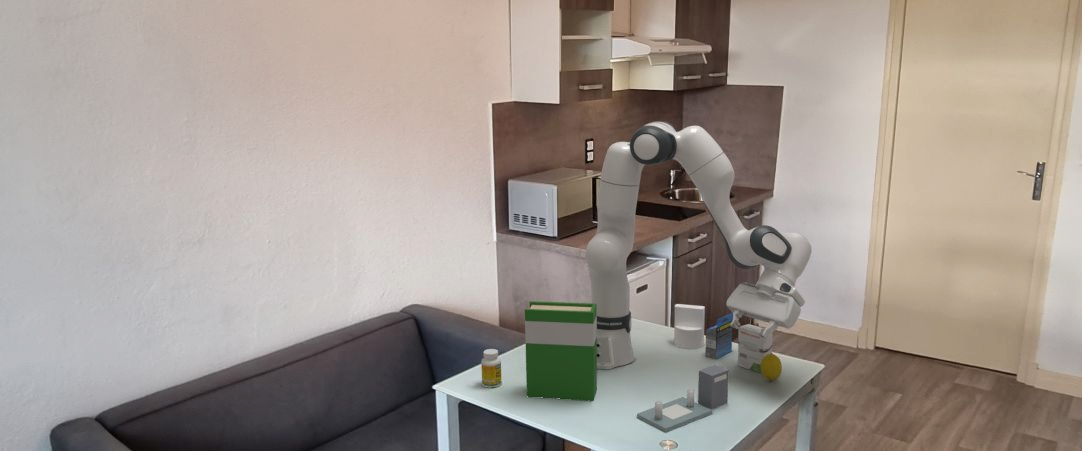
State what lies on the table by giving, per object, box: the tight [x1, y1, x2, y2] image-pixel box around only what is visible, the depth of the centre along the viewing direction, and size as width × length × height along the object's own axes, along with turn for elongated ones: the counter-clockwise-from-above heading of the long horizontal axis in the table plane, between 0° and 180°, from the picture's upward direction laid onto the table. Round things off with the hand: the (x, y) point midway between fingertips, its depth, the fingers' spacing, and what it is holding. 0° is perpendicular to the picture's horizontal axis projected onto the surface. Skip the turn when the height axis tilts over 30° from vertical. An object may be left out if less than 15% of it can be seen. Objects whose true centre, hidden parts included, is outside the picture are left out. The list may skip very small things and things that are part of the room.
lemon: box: [760, 352, 783, 382], centre depth 215 cm, size 6×6×8 cm
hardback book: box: [524, 300, 598, 402], centre depth 209 cm, size 18×7×24 cm, turn 80°
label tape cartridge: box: [704, 312, 733, 360], centre depth 235 cm, size 9×4×12 cm, turn 136°
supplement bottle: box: [480, 348, 503, 388], centre depth 217 cm, size 5×5×10 cm
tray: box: [636, 389, 713, 433], centre depth 196 cm, size 16×10×5 cm, turn 126°
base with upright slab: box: [673, 303, 706, 350], centre depth 244 cm, size 9×9×12 cm
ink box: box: [737, 323, 774, 374], centre depth 225 cm, size 9×5×12 cm, turn 39°
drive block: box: [697, 364, 729, 411], centre depth 203 cm, size 6×5×9 cm
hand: (747, 331), depth 207 cm, fingers open, 8 cm apart
